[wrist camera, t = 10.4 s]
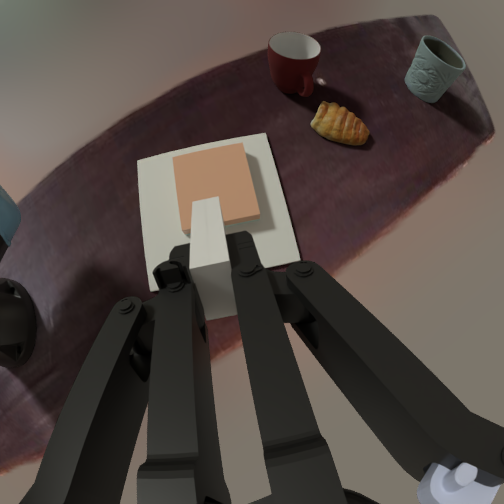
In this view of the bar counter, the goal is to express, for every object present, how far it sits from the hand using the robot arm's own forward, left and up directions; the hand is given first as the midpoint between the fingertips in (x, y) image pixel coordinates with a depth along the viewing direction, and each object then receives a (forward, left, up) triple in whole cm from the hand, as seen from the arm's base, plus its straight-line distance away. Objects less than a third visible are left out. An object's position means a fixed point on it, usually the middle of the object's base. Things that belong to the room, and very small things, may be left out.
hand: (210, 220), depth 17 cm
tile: (0, +6, -20) cm, 21 cm away
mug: (+16, +29, -22) cm, 40 cm away
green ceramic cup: (+46, +30, -22) cm, 59 cm away
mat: (-1, +10, -22) cm, 24 cm away
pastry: (+21, +20, -22) cm, 37 cm away
